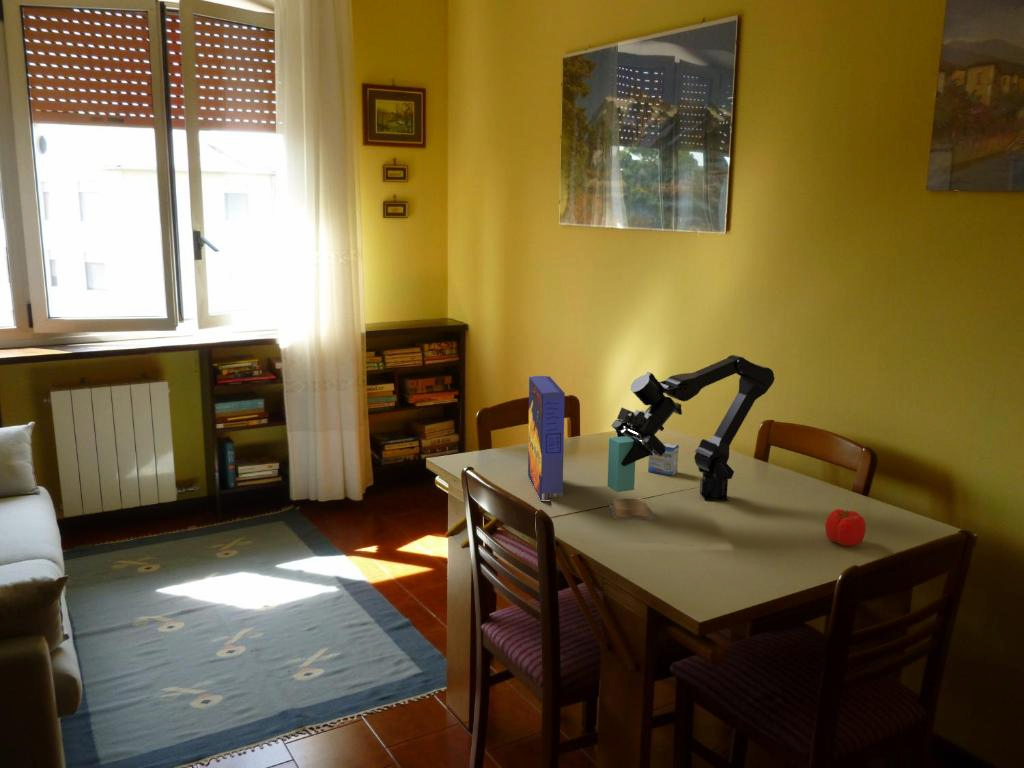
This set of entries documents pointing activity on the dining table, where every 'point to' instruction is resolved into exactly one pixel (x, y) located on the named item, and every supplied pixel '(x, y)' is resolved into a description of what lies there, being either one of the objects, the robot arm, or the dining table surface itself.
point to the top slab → (630, 507)
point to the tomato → (845, 527)
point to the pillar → (620, 465)
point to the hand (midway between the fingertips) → (617, 462)
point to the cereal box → (546, 437)
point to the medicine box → (664, 461)
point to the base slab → (629, 517)
